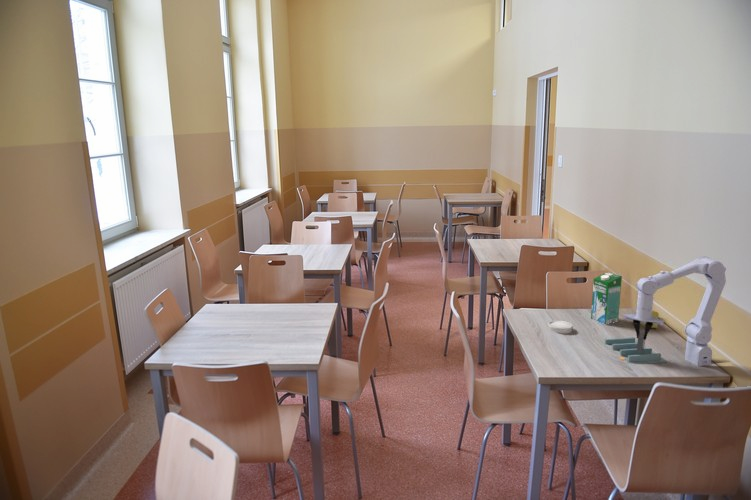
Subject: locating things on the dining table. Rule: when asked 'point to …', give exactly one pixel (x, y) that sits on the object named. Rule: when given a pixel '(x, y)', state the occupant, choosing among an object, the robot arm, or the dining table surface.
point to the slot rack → (634, 351)
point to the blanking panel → (641, 341)
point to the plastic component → (655, 315)
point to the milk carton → (606, 298)
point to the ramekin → (560, 327)
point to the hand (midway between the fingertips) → (641, 338)
